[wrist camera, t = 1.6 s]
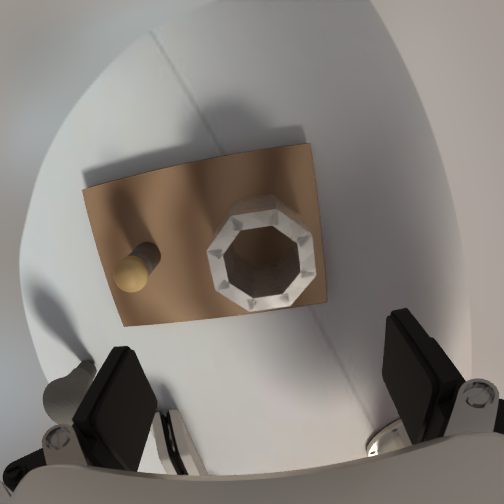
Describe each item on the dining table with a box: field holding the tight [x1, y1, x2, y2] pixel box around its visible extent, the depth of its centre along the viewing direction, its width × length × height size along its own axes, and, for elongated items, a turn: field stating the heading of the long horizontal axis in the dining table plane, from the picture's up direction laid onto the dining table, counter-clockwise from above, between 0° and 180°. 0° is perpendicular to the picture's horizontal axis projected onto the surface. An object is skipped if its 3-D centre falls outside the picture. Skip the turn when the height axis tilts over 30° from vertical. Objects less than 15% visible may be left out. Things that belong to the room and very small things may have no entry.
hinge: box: [150, 409, 208, 476], centre depth 34 cm, size 17×5×10 cm, turn 8°
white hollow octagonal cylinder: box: [207, 194, 316, 312], centre depth 23 cm, size 7×7×6 cm
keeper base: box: [82, 143, 327, 327], centre depth 25 cm, size 20×14×7 cm
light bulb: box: [43, 361, 97, 427], centre depth 29 cm, size 6×6×10 cm
